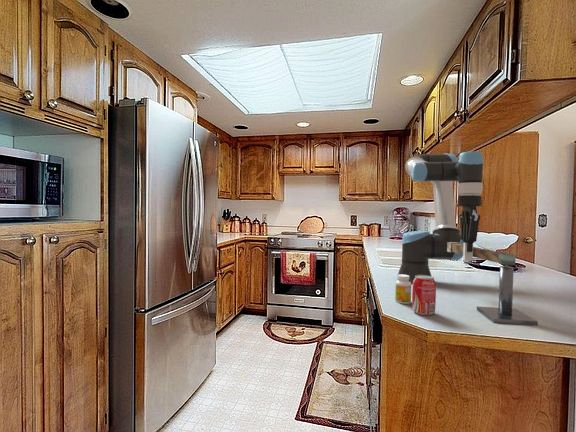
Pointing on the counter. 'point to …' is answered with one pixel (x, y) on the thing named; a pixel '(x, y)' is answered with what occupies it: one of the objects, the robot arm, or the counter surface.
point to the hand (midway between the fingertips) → (467, 260)
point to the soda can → (424, 295)
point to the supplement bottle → (403, 289)
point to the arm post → (506, 303)
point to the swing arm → (484, 254)
